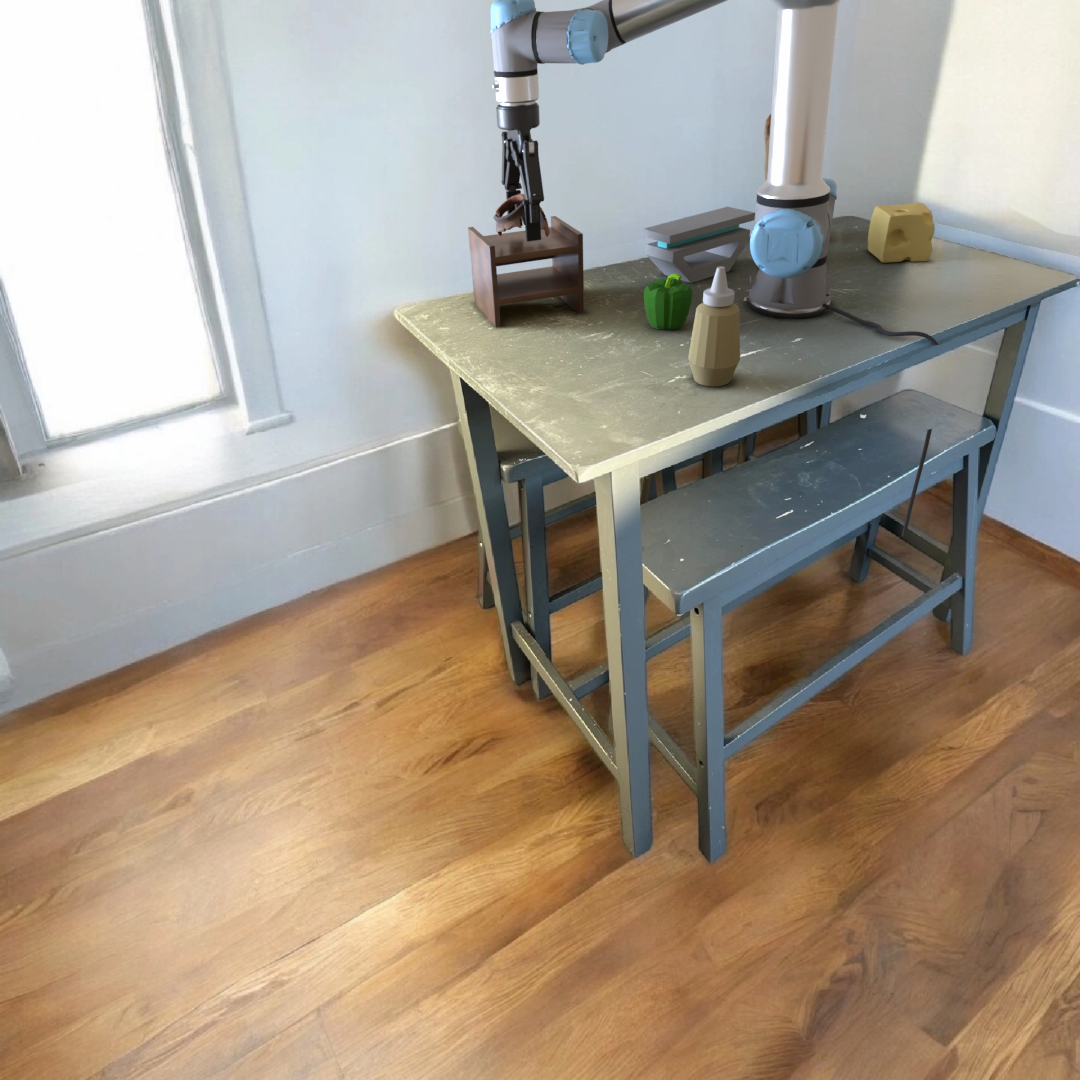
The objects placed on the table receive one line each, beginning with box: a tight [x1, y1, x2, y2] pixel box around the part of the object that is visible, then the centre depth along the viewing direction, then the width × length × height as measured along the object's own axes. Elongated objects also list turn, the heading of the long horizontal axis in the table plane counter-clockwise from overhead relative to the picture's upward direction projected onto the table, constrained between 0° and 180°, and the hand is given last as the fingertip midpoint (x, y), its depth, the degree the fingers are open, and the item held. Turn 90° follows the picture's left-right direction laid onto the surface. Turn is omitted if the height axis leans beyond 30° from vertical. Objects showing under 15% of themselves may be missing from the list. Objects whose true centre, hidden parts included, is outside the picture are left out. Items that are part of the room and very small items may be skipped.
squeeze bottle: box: [687, 266, 741, 387], centre depth 132 cm, size 8×8×18 cm
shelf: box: [467, 215, 585, 328], centre depth 165 cm, size 15×18×15 cm
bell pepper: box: [643, 273, 693, 330], centre depth 155 cm, size 8×8×10 cm
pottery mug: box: [493, 193, 550, 237], centre depth 160 cm, size 12×10×8 cm
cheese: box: [867, 202, 936, 264], centre depth 184 cm, size 10×11×10 cm
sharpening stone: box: [642, 206, 756, 284], centre depth 180 cm, size 25×8×11 cm, turn 127°
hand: (524, 233), depth 161 cm, fingers closed on pottery mug, 10 cm apart
